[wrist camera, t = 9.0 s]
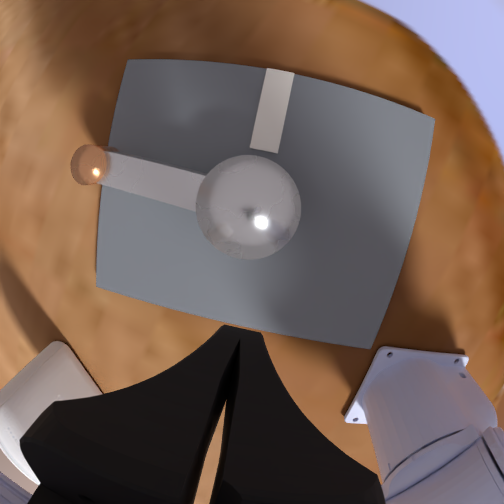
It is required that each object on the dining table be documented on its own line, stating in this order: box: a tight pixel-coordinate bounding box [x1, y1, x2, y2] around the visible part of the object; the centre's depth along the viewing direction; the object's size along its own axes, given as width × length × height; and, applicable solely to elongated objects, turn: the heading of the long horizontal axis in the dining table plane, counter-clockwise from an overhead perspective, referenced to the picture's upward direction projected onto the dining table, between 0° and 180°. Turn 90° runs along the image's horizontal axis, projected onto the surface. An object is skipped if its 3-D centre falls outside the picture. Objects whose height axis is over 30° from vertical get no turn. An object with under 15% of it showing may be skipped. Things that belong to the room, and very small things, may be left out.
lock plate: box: [96, 59, 435, 349], centre depth 17 cm, size 20×16×2 cm
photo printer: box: [0, 341, 102, 485], centre depth 18 cm, size 10×4×12 cm, turn 23°
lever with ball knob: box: [71, 145, 301, 260], centre depth 15 cm, size 13×5×2 cm, turn 73°
